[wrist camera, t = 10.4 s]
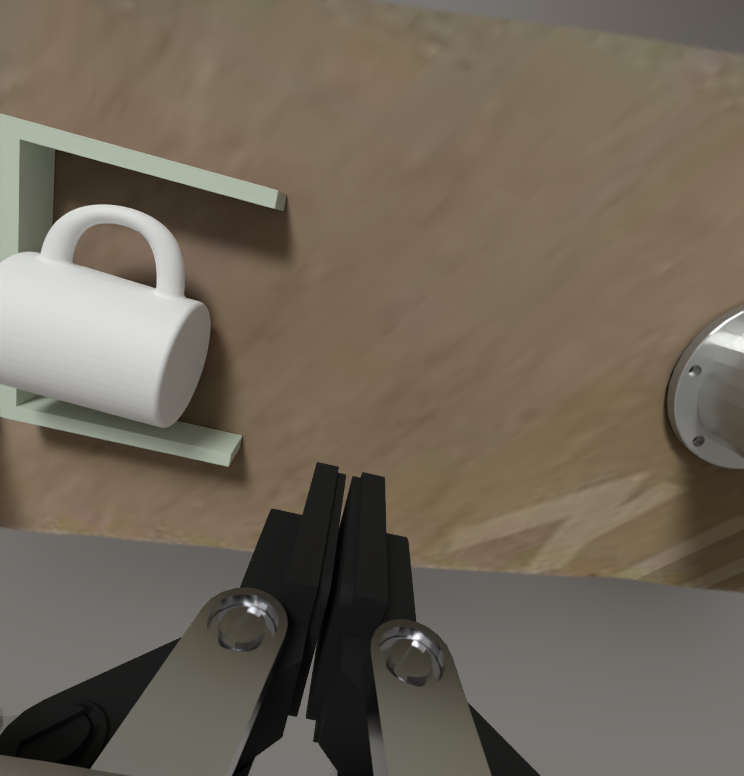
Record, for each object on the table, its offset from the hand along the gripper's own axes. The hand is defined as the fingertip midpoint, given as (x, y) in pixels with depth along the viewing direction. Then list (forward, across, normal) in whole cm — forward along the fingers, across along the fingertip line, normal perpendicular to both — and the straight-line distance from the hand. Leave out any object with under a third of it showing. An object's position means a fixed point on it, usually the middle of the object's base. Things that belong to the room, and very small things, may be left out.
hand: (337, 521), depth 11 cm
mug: (+22, +15, +1) cm, 26 cm away
